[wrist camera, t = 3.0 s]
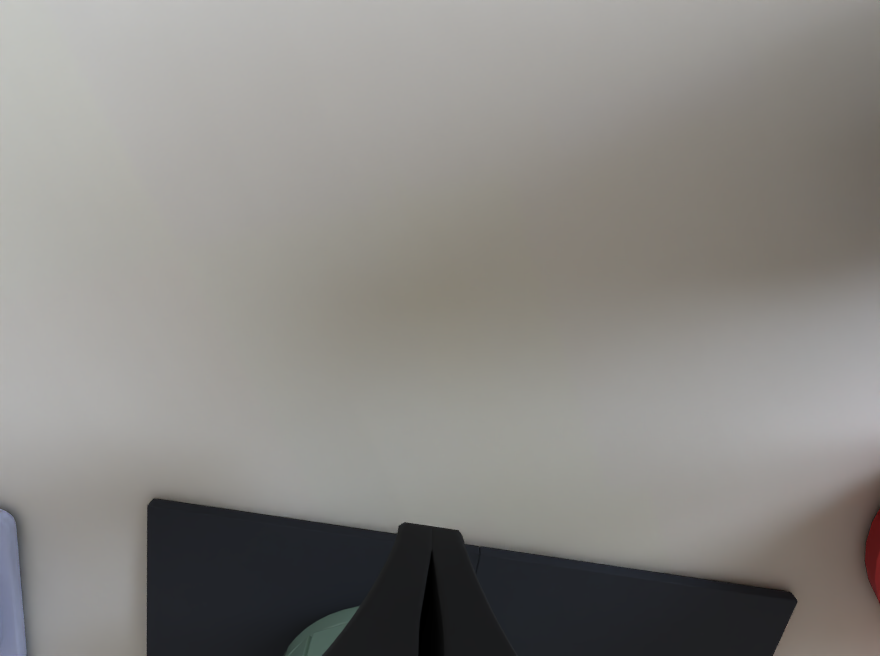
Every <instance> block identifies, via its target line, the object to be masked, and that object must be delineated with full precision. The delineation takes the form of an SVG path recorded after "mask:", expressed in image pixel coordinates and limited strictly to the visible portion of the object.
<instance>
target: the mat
mask: <svg viewBox="0 0 880 656" xmlns="http://www.w3.org/2000/svg"><path fill="white" fill-rule="evenodd" d="M396 536H397V534H392V533H385V532H378V531H372V530H365V529H358V528H351V527H344V526H338V525H331V524H324V523H317V522H310V521H304V520H297V519H290V518H283V517H276V516H269V515H263V514H256V513H249V512H242V511H235V510H229V509H222V508H215V507H208V506H201V505H195V504H188V503H181V502H174V501H167V500H161V499H153V500H152V501H151V502H150V503H149V505H148V507H147V656H283V655H284V653H285V651H286V650H287V648H288V646H289V645H290V644H291V643H292V642H293V640H294V639H295V638H296V637H297V636H298V635H299V634H300V633H301V632H302V631H303V630H305V629H306V628H307V627H308V626H310V625H311V624H313V623H314V622H316V621H317V620H319V619H321V618H323V617H325V616H327V615H329V614H332V613H335V612H338V611H341V610H343V609H348V608H352V607H356V606H360V605H361V603H362V602H363V600H364V599H365V597H366V596H367V594H368V593H369V591H370V589H371V588H372V586H373V584H374V583H375V581H376V579H377V577H378V575H379V574H380V572H381V570H382V568H383V566H384V564H385V563H386V561H387V558H388V556H389V554H390V552H391V550H392V547H393V545H394V542H395V539H396ZM465 546H466V550H467V552H468V555H469V558H470V561H471V563H472V566H473V568H474V571H475V573H476V576H477V578H478V580H479V583H480V585H481V587H482V589H483V592H484V594H485V596H486V598H487V600H488V602H489V604H490V607H491V609H492V611H493V613H494V614H495V616H496V618H497V620H498V622H499V624H500V626H501V628H502V630H503V631H504V633H505V635H506V637H507V639H508V640H509V642H510V644H511V645H512V647H513V649H514V651H515V652H516V654H517V655H518V656H773V654H774V652H775V650H776V647H777V645H778V643H779V641H780V639H781V637H782V634H783V632H784V630H785V628H786V626H787V624H788V621H789V619H790V617H791V615H792V613H793V610H794V608H795V606H796V604H797V599H796V598H795V597H794V595H793V594H792V593H791V592H787V591H780V590H773V589H766V588H759V587H753V586H746V585H739V584H732V583H725V582H719V581H712V580H705V579H698V578H691V577H685V576H678V575H671V574H664V573H657V572H651V571H644V570H637V569H630V568H623V567H617V566H610V565H603V564H596V563H589V562H583V561H576V560H569V559H562V558H555V557H548V556H542V555H535V554H528V553H521V552H514V551H508V550H501V549H494V548H487V547H479V546H474V545H467V544H465Z"/></svg>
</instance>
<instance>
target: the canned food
mask: <svg viewBox="0 0 880 656" xmlns="http://www.w3.org/2000/svg"><path fill="white" fill-rule="evenodd" d="M865 564H866V569H867V574H868V579H869V582H870V584H871V586H872V588H873V590H874V592H875V594H876V597H877V599H878V601H879V603H880V509H879V511H878V512H877V514H876V516H875V518H874V520H873V522H872V524H871V528H870V531H869V534H868V537H867V541H866V552H865Z"/></svg>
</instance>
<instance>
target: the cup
mask: <svg viewBox="0 0 880 656" xmlns="http://www.w3.org/2000/svg"><path fill="white" fill-rule="evenodd" d="M358 608H359V606H356V607H352V608H348V609H343V610H341V611H338V612H335V613H332V614H329V615H327V616H325V617H323V618H321V619H319V620H317V621H316V622H314V623H313V624H311V625H310V626H308V627H307V628H306V629H305V630H303V631H302V632H301V633H300V634H299V635H298V636H297V637H296V638H295V639H294V640H293V642H292V643H291V644H290V645H289V646H288V648H287V650H286V651H285V653H284V655H283V656H322V655H323V654H324V652H325V651H326V650H327V649H328V648H329V647H330V645H331V644H332V643H333V642H334V640H335V639H336V638H337V637H338V635H339V634H340V633H341V632H342V630H343V629H344V628H345V626H346V625H347V624H348V622H349V621H350V619H351V618H352V617H353V615H354V614H355V612H356V611H357V609H358Z"/></svg>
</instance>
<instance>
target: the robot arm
mask: <svg viewBox="0 0 880 656" xmlns="http://www.w3.org/2000/svg"><path fill="white" fill-rule="evenodd" d="M0 656H27V648H26V636H25V624H24V612H23V600H22V588H21V576H20V564H19V552H18V540H17V528H16V522H15V519H14V518H13V516H12V515H11V514H10V513H8V512H7V511H5V510H2V509H0ZM322 656H518V655H517V654H516V652H515V651H514V649H513V647H512V645H511V644H510V642H509V640H508V639H507V637H506V635H505V633H504V631H503V630H502V628H501V626H500V624H499V622H498V620H497V618H496V616H495V614H494V613H493V611H492V609H491V607H490V604H489V602H488V600H487V598H486V596H485V594H484V592H483V589H482V587H481V585H480V583H479V580H478V578H477V576H476V573H475V571H474V568H473V566H472V563H471V561H470V558H469V555H468V552H467V550H466V546H465V543H464V540H463V536H462V534H461V533H460V532H459V530H453V529H446V528H440V527H433V526H426V525H419V524H413V523H406V522H404V523H403V524H401V525H399V528H398V533H397V536H396V539H395V542H394V545H393V547H392V550H391V552H390V554H389V556H388V558H387V561H386V563H385V564H384V566H383V568H382V570H381V572H380V574H379V575H378V577H377V579H376V581H375V583H374V584H373V586H372V588H371V589H370V591H369V593H368V594H367V596H366V597H365V599H364V600H363V602H362V603H361V605H360V606H359V608H358V609H357V611H356V612H355V614H354V615H353V617H352V618H351V619H350V621H349V622H348V624H347V625H346V626H345V628H344V629H343V630H342V632H341V633H340V634H339V635H338V637H337V638H336V639H335V640H334V642H333V643H332V644H331V645H330V647H329V648H328V649H327V650H326V651H325V652H324V654H323V655H322Z"/></svg>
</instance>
